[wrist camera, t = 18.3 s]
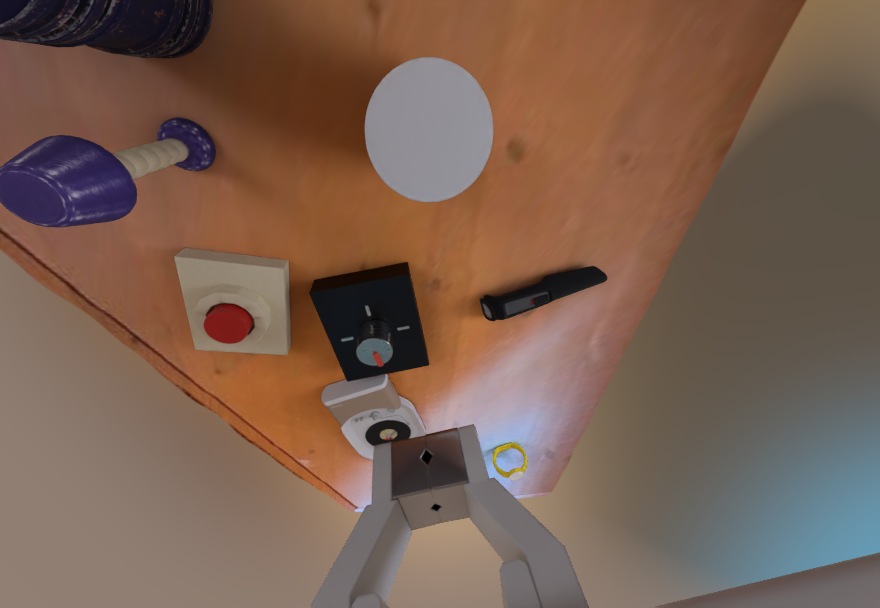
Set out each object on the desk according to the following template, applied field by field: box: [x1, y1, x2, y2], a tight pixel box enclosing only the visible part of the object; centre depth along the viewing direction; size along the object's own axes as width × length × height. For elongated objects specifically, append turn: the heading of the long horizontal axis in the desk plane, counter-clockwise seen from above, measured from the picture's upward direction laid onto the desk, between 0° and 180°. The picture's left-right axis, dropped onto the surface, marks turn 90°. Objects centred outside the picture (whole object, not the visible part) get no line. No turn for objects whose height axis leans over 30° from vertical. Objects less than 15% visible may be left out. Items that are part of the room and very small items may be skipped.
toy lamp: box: [0, 118, 216, 227], centre depth 23 cm, size 5×5×17 cm
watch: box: [493, 442, 527, 481], centre depth 59 cm, size 6×3×6 cm, turn 104°
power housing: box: [174, 248, 291, 355], centre depth 37 cm, size 12×10×4 cm
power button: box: [204, 304, 253, 344], centre depth 35 cm, size 4×4×2 cm
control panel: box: [309, 262, 429, 382], centre depth 41 cm, size 14×11×3 cm
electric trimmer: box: [479, 266, 607, 321], centre depth 42 cm, size 4×16×3 cm, turn 107°
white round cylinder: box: [365, 57, 493, 202], centre depth 26 cm, size 8×8×12 cm
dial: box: [356, 320, 393, 367], centre depth 38 cm, size 4×4×4 cm
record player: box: [321, 374, 426, 460], centre depth 51 cm, size 12×3×20 cm
